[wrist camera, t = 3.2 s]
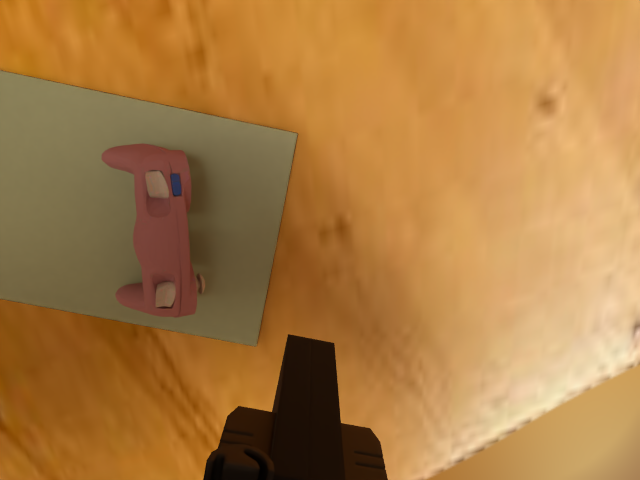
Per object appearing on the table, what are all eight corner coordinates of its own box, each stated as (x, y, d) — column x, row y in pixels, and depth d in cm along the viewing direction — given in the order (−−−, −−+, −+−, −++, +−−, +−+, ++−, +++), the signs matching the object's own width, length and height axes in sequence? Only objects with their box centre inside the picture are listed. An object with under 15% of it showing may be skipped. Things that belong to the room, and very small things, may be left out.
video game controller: (187, 291, 34) (217, 328, 28) (114, 302, 32) (129, 345, 26) (177, 140, 31) (207, 145, 25) (98, 142, 29) (110, 147, 23)
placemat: (-279, 244, 31) (-287, 245, 31) (-295, 7, 28) (-304, 6, 28) (257, 344, 33) (256, 346, 33) (298, 133, 30) (297, 133, 30)
